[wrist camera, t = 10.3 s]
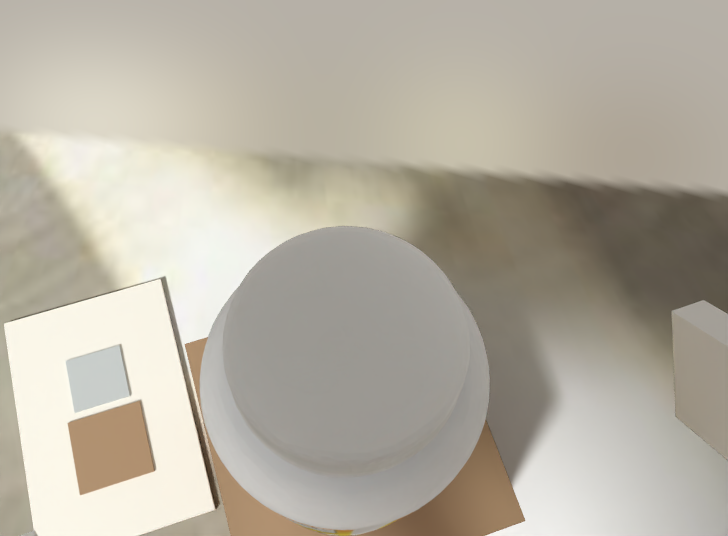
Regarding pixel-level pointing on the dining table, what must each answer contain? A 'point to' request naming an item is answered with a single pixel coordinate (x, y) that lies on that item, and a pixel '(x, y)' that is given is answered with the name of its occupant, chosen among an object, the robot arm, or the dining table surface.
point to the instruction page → (106, 417)
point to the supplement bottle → (344, 380)
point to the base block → (413, 532)
